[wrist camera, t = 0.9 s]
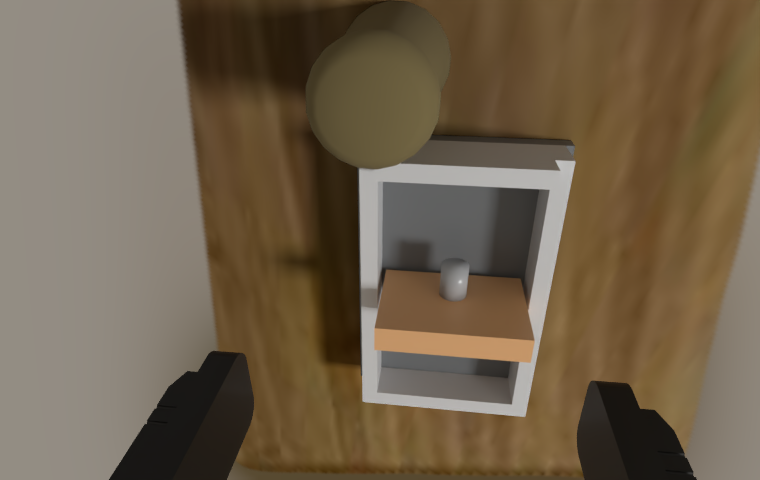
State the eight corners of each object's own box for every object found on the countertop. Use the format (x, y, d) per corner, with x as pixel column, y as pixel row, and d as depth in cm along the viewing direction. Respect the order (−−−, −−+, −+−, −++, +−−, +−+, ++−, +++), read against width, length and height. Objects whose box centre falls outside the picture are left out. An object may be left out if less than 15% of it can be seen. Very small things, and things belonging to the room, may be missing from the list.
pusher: (386, 242, 32) (374, 297, 26) (525, 250, 31) (540, 309, 26) (385, 289, 33) (374, 349, 28) (517, 298, 32) (530, 362, 27)
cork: (389, 137, 30) (361, 220, 20) (317, 55, 28) (249, 102, 18) (473, 67, 27) (487, 123, 18) (401, -28, 26) (372, -23, 16)
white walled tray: (359, 132, 30) (344, 161, 25) (571, 140, 29) (593, 172, 24) (363, 366, 38) (352, 417, 34) (525, 380, 37) (536, 435, 33)
